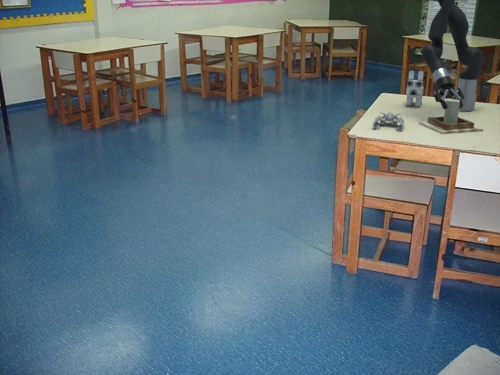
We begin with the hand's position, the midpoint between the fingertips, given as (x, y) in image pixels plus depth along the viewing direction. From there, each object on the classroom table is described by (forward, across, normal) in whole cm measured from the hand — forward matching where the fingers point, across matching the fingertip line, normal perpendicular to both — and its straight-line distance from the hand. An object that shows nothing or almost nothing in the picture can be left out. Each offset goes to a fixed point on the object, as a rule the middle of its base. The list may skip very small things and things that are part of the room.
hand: (453, 107), depth 251 cm
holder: (+6, 0, +7) cm, 10 cm away
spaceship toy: (0, -28, +14) cm, 31 cm away
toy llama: (-28, +10, +42) cm, 51 cm away
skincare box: (+6, 0, +6) cm, 9 cm away
